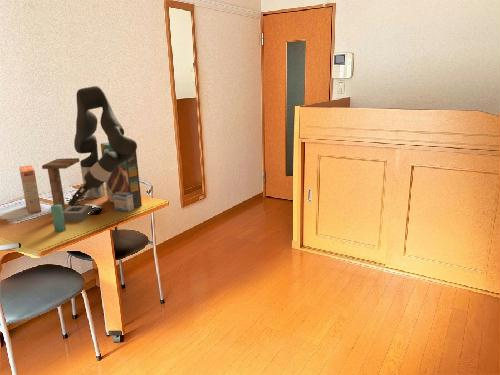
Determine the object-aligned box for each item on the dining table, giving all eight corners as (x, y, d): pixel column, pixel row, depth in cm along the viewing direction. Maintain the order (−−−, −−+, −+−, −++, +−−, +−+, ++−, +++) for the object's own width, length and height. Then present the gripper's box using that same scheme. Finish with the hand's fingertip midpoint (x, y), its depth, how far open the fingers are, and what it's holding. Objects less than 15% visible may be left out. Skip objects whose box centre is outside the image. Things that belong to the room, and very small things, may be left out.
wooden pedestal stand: (66, 212, 188) (57, 158, 181) (86, 212, 188) (79, 158, 181) (52, 223, 175) (41, 165, 167) (74, 222, 175) (65, 165, 167)
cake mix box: (107, 200, 206) (100, 143, 197) (118, 197, 210) (111, 141, 202) (131, 208, 192) (124, 148, 184) (141, 205, 197) (135, 146, 188)
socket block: (70, 213, 186) (69, 206, 185) (91, 213, 186) (90, 205, 185) (60, 221, 177) (59, 213, 176) (82, 221, 177) (81, 212, 176)
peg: (61, 227, 169) (57, 203, 166) (67, 229, 167) (63, 205, 164) (52, 231, 166) (48, 206, 163) (59, 233, 164) (54, 208, 161)
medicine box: (114, 210, 190) (112, 193, 187) (120, 207, 194) (118, 190, 191) (128, 212, 187) (126, 194, 185) (134, 209, 191) (132, 192, 189)
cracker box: (42, 211, 190) (34, 169, 185) (28, 214, 187) (20, 171, 181) (39, 204, 202) (32, 164, 196) (26, 206, 199) (18, 166, 193)
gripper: (97, 164, 166) (74, 190, 169) (84, 172, 152) (59, 200, 156) (111, 175, 167) (88, 201, 171) (99, 185, 154) (74, 213, 157)
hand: (74, 201), depth 163 cm, fingers open, 8 cm apart
